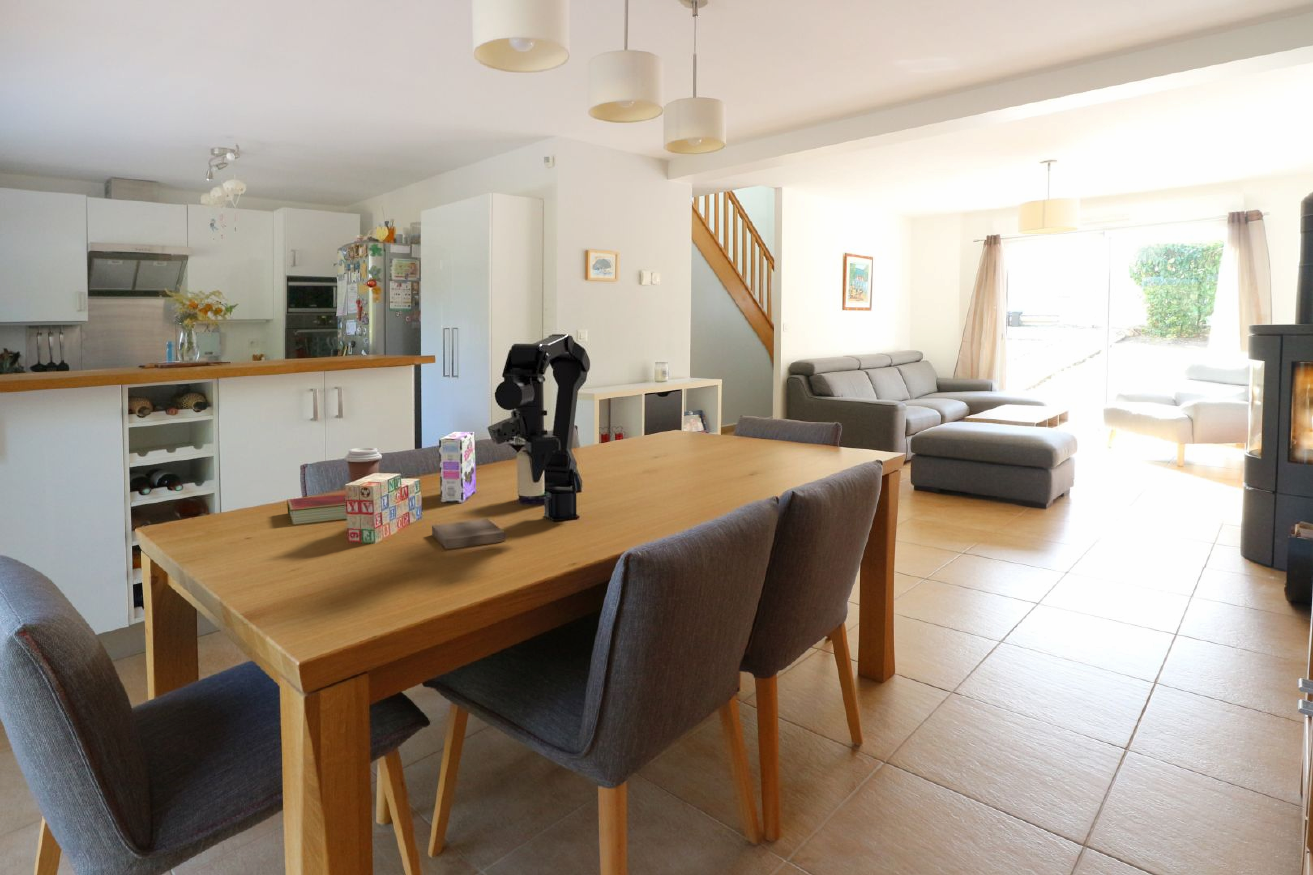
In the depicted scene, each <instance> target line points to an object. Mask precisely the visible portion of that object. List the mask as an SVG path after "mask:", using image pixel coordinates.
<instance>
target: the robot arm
mask: <svg viewBox="0 0 1313 875" xmlns="http://www.w3.org/2000/svg"><path fill="white" fill-rule="evenodd" d="M549 367H551V369H552V376H553V379H554V380H555V383H556V385H557V392H556V393H557V394H556V403H555V409H554V411H555V412H554V418H553V427H552V434H548V429H545V416H548V410H547V409H544V407H545V406H544V405H545V404H544V402H545V401H544V396H545V395H544V382H546V377H545V374H546V372H547V369H548V368H549ZM590 369H591V359H590V358H589V355H588V353H587V351H586V349H585V347H583V346H581V345H580V344H578V342H576V341H575V339H574V338H573V336H572V335H570V334H567V333H566V334H565V333H563V334H561V333H553V334H551V335H548V337H545V338H543V339H541V340H539V341H538V340H537V341H536V342H534V343H513V344H512V346H511V347H510V349H509V351H508V352H507V357H506V360H505V364H504V367H503V371H502V374H501V377H502V378H503V381H502V382H500V383H499V384H498V385H497V386H496V389H495V391H494V399H495V402H496V403H497V405H498V406H499V407H500V408H501V409H503V410H506V411H511V412H510V417H509V418H506V419H502V420H501V421H498V422H496V423H494V424H491V425H489V426H488V427H487V431H488V433H489V436H490V439H491V441H492V443H495V444H496V445H500V444H504V443H507V446H508V447H509V448H511V449H512V450H513V451H514V452H515V453H516V455H517V453H518V452H519V451H520V450H521V449H522V447H524V446H525V447H526V450H522V451H523V452H524V453H525V454H526V455H527V456H528V457H529V460H530V466H531V473H532V478H533V482H534V483H536V482H539V480H540V478H541V476H542V474H543V471H544V492H547V498H545V505H544V513H543V515H544V517H546V518H548V519H550V520H551V521H553V522H558V521H564V520H566V521H567V520H573V519H580V517H581V516H580V515H579V514H578V513H577V507H578V506H577V494H579V493H582V492H583V491H582V490H583V479H582V477H581V474H580V472H579V470H578V467H577V466H578V463H577V459H576V457H575V456H574V453H573V451H572V447H573V438H574V429H575V420H576V419H575V418H576V411H577V403H578V396H579V390H580V389H581V388H582V387H583V385H584V384H585V383H586V381H587V377H588V372H590ZM509 442H510V443H509Z"/></svg>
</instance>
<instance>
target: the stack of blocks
mask: <svg viewBox="0 0 1313 875" xmlns="http://www.w3.org/2000/svg"><path fill="white" fill-rule="evenodd" d="M344 492H345V493H344V494H345V496H346V500H345V504H346V516H347V519H346V532H347V533H346V534H347V542H349V543H368V544H377V543H378V542H381V541H382V540H384V539H386V538H389V537H390V536H392V535H393V534H395V533H397V532H398V531H400V530H402V529H403V528H406V527H407V526H409V525H411V524H412V523H414V522H416V521H418V520H420V519H422V518H423V512H422V511H423V510H422V504H423V503H422V492H421V479H420V478H402V473H387V472H386V473H383V472H379V473H374V474H371V475H369V476H366V477H363V478H362V479H359V480H356V481H354V482H349V483H347V484H346V483H345V484H344Z"/></svg>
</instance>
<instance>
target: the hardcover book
mask: <svg viewBox="0 0 1313 875" xmlns="http://www.w3.org/2000/svg"><path fill="white" fill-rule="evenodd" d="M345 500H346V496H345V493H341V494H330V495H322V496H321V495H320V496H309V497H308V496H307V497H299V498H289V499H287V500H286V503H287V504H286V505H287V506H286V507H287V514H288V515H289V516H290V518H291V521H292V522H291V523H292V524H293V525H300V524H303V525H304V524H309V523H320V522H328V521H336V520H337V521H339V520H347V516H346V504H345Z"/></svg>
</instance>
